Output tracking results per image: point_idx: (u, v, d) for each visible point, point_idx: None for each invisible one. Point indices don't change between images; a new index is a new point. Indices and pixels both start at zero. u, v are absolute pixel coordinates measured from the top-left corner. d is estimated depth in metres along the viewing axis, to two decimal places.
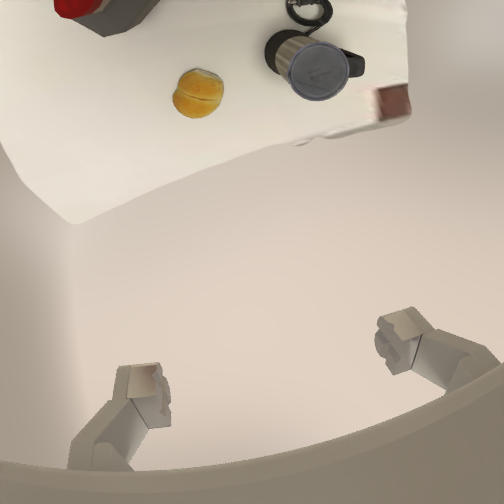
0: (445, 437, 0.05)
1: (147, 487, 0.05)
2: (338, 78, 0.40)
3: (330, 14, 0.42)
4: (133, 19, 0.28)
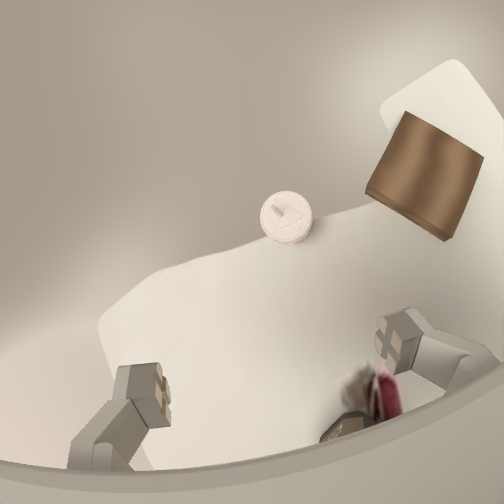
0: (445, 437, 0.05)
1: (147, 486, 0.05)
2: None
3: None
4: None
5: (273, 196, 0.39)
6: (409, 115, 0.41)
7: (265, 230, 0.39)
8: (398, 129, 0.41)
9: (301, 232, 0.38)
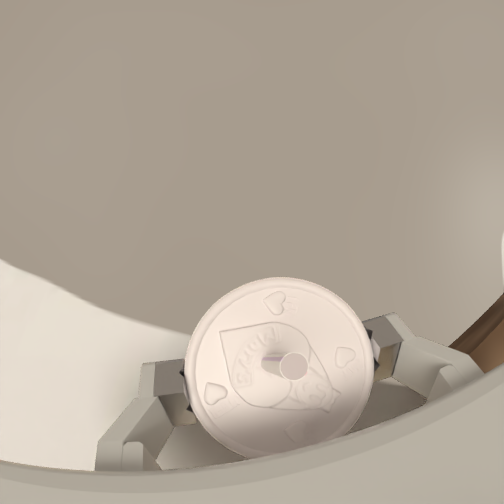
0: (445, 437, 0.05)
1: (146, 487, 0.05)
2: None
3: None
4: None
5: (283, 284, 0.11)
6: None
7: (189, 377, 0.10)
8: None
9: None
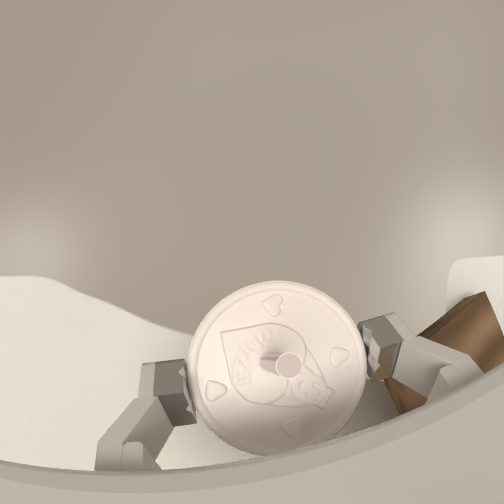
0: (445, 437, 0.05)
1: (146, 486, 0.05)
2: None
3: None
4: None
5: (281, 287, 0.11)
6: (485, 300, 0.28)
7: (192, 375, 0.10)
8: (466, 310, 0.28)
9: (296, 446, 0.10)
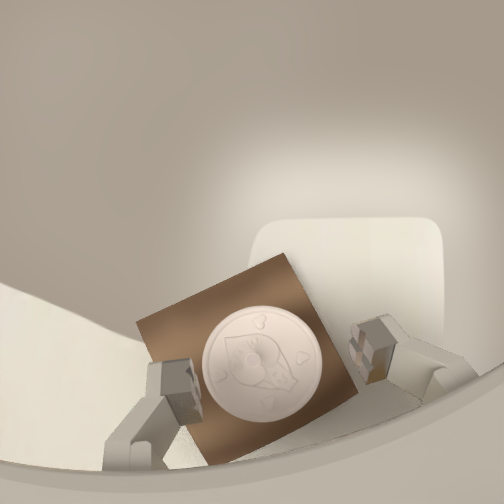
0: (445, 437, 0.05)
1: (147, 487, 0.05)
2: None
3: None
4: None
5: (265, 310, 0.17)
6: (283, 263, 0.28)
7: (205, 364, 0.16)
8: (247, 273, 0.28)
9: (271, 416, 0.15)
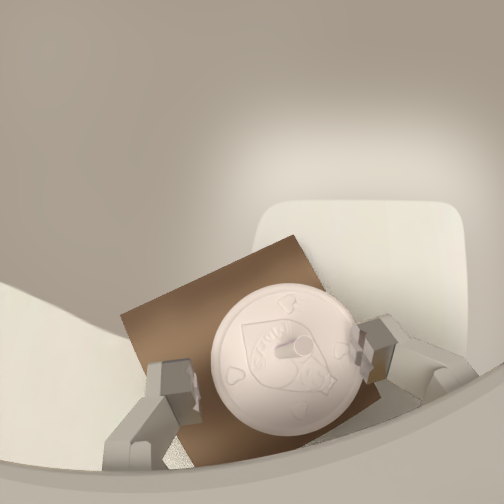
0: (445, 437, 0.05)
1: (146, 487, 0.05)
2: None
3: None
4: None
5: (294, 289, 0.13)
6: (293, 246, 0.24)
7: (215, 361, 0.12)
8: (251, 257, 0.24)
9: (302, 427, 0.11)
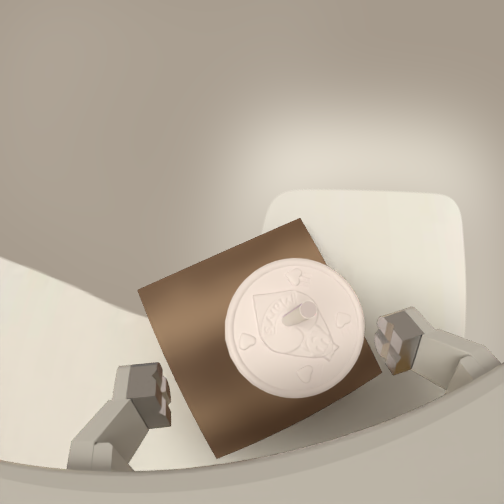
0: (445, 437, 0.05)
1: (146, 487, 0.05)
2: None
3: None
4: None
5: (301, 263, 0.15)
6: (300, 229, 0.26)
7: (229, 328, 0.14)
8: (261, 238, 0.25)
9: (307, 390, 0.13)
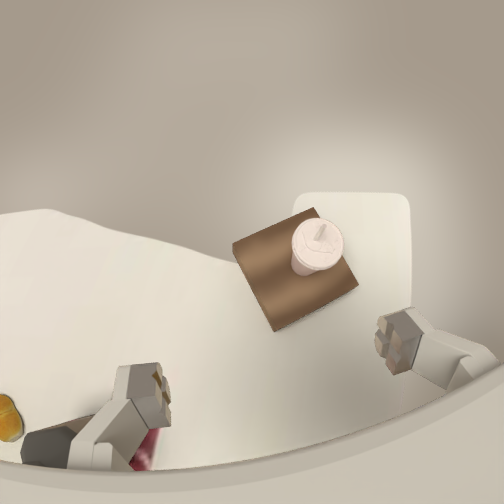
0: (445, 437, 0.05)
1: (147, 486, 0.05)
2: None
3: None
4: None
5: (317, 219, 0.39)
6: (313, 212, 0.50)
7: (295, 243, 0.38)
8: (294, 217, 0.50)
9: (325, 264, 0.37)
